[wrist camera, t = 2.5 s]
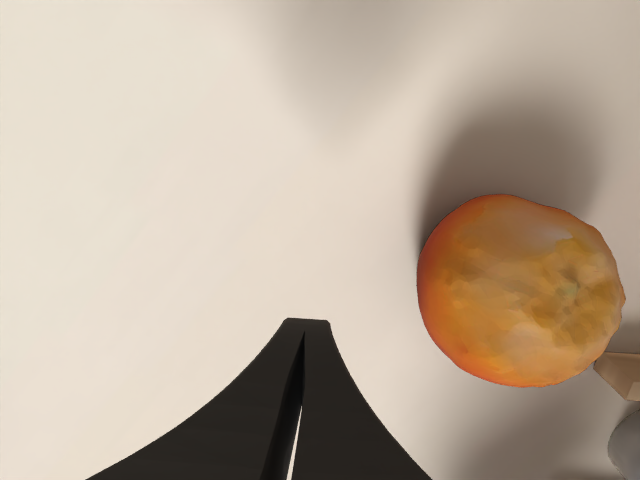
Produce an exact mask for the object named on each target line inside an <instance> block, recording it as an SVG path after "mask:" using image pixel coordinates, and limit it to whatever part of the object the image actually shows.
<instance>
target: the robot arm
mask: <svg viewBox="0 0 640 480" xmlns="http://www.w3.org/2000/svg"><path fill="white" fill-rule="evenodd" d="M301 406H302V412H301V419H300V426H299V433H298V440H297V446H296V453H295V459H294V466H293V472H292V478H291V480H432V479H431V478H430V477H429V476H428V475H427V474H426V473H425V472H424V471H423V470H422V469H421V467H420V466H419V465H418V464H417V463H416V462H415V461H414V460H413V459H412V458H411V457H410V456H409V454H408V453H407V452H406V451H405V450H404V449H403V448H402V446H401V445H400V444H399V443H398V442H397V441H396V440H395V438H394V437H393V436H392V435H391V434H390V433H389V431H388V430H387V429H386V428H385V426H384V425H383V424H382V422H381V421H380V420H379V418H378V417H377V416H376V414H375V413H374V412H373V410H372V409H371V407H370V406H369V404H368V403H367V402H366V400H365V398H364V397H363V395H362V394H361V392H360V391H359V389H358V387H357V386H356V384H355V382H354V380H353V379H352V377H351V375H350V373H349V371H348V369H347V368H346V365H345V363H344V361H343V359H342V357H341V355H340V353H339V350H338V348H337V346H336V343H335V340H334V338H333V335H332V331H331V327H330V323H329V322H328V321H327V320H316V319H300V318H287V319H285V320H284V321H283V323H282V324H281V326H280V327H279V329H278V330H277V332H276V333H275V334H274V336H273V337H272V338H271V340H270V341H269V342H268V343H267V345H266V346H265V347H264V348H263V349H262V350H261V352H260V353H259V354H258V355H257V356H256V357H255V359H254V360H253V361H252V362H251V363H250V364H249V365H248V366H247V367H246V368H245V369H244V370H243V371H242V372H241V373H240V374H239V375H238V376H237V377H236V378H235V379H234V380H233V381H232V382H231V383H230V384H229V385H228V386H227V387H226V388H225V389H224V390H222V391H221V392H220V393H219V394H218V395H217V396H215V397H214V398H213V399H212V400H211V401H210V402H208V403H207V404H206V405H204V406H203V407H202V408H201V409H199V410H198V411H197V412H195V413H194V414H193V415H192V416H190V417H189V418H188V419H186V420H185V421H184V422H182V423H181V424H179V425H178V426H177V427H175V428H174V429H172V430H171V431H169V432H167V433H166V434H164V435H163V436H161V437H160V438H158V439H157V440H155V441H153V442H152V443H150V444H149V445H147V446H145V447H144V448H142V449H140V450H139V451H137V452H135V453H134V454H132V455H130V456H128V457H127V458H125V459H123V460H121V461H119V462H118V463H116V464H114V465H112V466H110V467H108V468H106V469H104V470H103V471H101V472H99V473H97V474H95V475H93V476H91V477H90V478H88V479H86V480H286V479H287V474H288V469H289V464H290V459H291V455H292V450H293V445H294V440H295V435H296V430H297V426H298V421H299V416H300V411H301Z"/></svg>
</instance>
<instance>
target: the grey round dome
mask: <svg viewBox="0 0 640 480" xmlns="http://www.w3.org/2000/svg"><path fill="white" fill-rule="evenodd" d="M608 455H609V458H610V460H611V462H612V463H613V465H614V466H615V467H616V469H617V470H618V471H619V472H620V474H621V475H622V476H623V477H624V479H625V480H640V410H638V411H636V412H635V413H633V414H631V415H630V416H628V417H627V418H626V419H625V420H623V421H622V422H621V423H620V424H619V425H618V426H617V427H616V429H615V430H614V432H613V433H612V435H611V437H610V439H609V442H608Z"/></svg>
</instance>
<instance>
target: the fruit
mask: <svg viewBox="0 0 640 480" xmlns="http://www.w3.org/2000/svg"><path fill="white" fill-rule="evenodd" d="M416 286H417V293H418V303H419V309H420V312H421V315H422V318H423V322H424V325H425V327H426V329H427V331H428V333H429V335H430V337H431V338H432V340H433V341H434V342H435V344H436V345H437V346H438V347H439V348H440V349H441V351H442V352H443V353H444V354H445V355H446V356H448V357H449V358H450V359H451V360H452V361H453V362H454V363H455V364H456V365H457V366H458V367H459V368H461V369H462V370H464V371H466V372H468V373H470V374H472V375H474V376H476V377H479V378H481V379H484V380H487V381H490V382H493V383H496V384H501V385H507V386H514V387H532V386H534V387H545V386H547V385H556V384H558V383H561V382H563V381H565V380H567V379H569V378H571V377H573V376H575V375H577V374H580V373H581V372H582V371H584V370H585V369H586V368H587V367H588V366H589V365H590V364H591V363H592V362H594V361H595V360H596V359H597V358H598V357H600V356H601V355H602V354H603V352H604V351H605V349H606V347H607V345H608V344H609V341H610V339H611V337H612V335H613V334H614V333H615V332H616V331H617V330H618V328H619V324H620V321H621V318H622V316H621V308H622V306H623V305H624V303H625V299H626V298H625V294H624V290H623V287H622V284H621V282H620V279H619V275H618V270H617V265H616V261H615V259H614V257H613V255H612V252H611V250H610V249H609V247H608V246H607V244H606V242H605V241H604V239H603V237H602V235H601V233H600V232H599V231H598V230H597V229H596V228H594V227H593V226H591V225H588V224H586V223H584V222H583V221H581V220H579V219H578V218H576V217H575V216H573V215H571V214H570V213H568V212H566V211H564V210H561V209H557V208H553V207H548V206H544V205H539V204H537V203H534V202H531V201H528V200H525V199H522V198H519V197H516V196H513V195H505V194H496V195H484V196H480V197H477V198H474V199H472V200H470V201H468V202H466V203H464V204H462V205H461V206H460V207H459V208H457V209H456V210H454V211H452V212H451V213H449V214H448V215H447V216H446V217H445V218H444V219H442V221H441V222H440V223H439V224H438V225H437V227H436V228H435V229H434V230H433V232H432V233H431V234H430V236H429V238H428V240H427V242H426V244H425V246H424V248H423V250H422V251H421V253H420V256H419V260H418V266H417V285H416Z"/></svg>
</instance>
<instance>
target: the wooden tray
mask: <svg viewBox="0 0 640 480" xmlns="http://www.w3.org/2000/svg"><path fill="white" fill-rule="evenodd" d="M593 369H594V370H595V371H596V372H597V373H598V374H599V375H600V376H601V377H602V378H603V379H605V380H606V381H607V382H608V383H609V384H610V385H611V386H612V387H613V388H614V389H615V390H616V391H617V392H618V393H619V394H620V395H621V396H622V397H623V398H624V399H625V400H632V401H640V354H627V353H612V352H603V354H602V355H601V356H600V357H598V358H597V360H596V363H595V366H594V368H593Z"/></svg>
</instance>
